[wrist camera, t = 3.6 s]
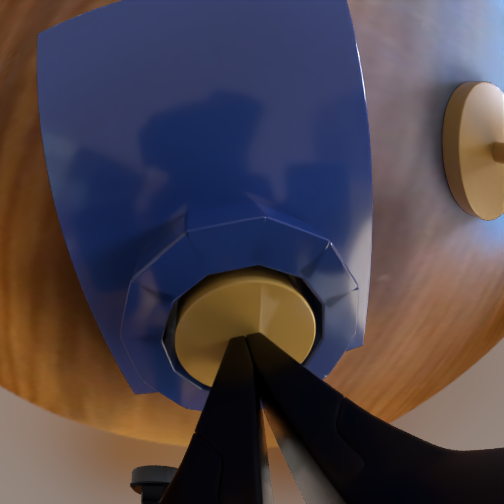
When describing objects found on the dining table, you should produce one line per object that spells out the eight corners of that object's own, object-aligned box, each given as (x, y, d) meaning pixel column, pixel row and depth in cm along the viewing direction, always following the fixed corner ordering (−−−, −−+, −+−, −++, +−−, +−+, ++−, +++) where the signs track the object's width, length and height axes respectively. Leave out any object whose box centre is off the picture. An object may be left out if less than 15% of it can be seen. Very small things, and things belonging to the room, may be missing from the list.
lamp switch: (299, 342, 10) (316, 374, 9) (193, 365, 10) (195, 401, 8) (293, 242, 9) (315, 266, 7) (162, 268, 8) (155, 298, 7)
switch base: (342, 319, 13) (383, 372, 10) (139, 361, 12) (130, 428, 8) (319, 10, 8) (371, -31, 4) (62, 49, 7) (9, 18, 3)
